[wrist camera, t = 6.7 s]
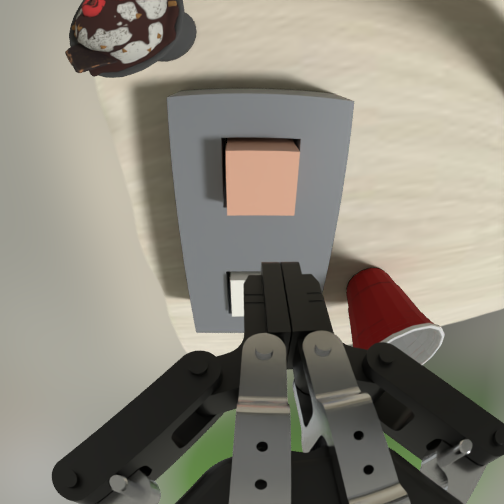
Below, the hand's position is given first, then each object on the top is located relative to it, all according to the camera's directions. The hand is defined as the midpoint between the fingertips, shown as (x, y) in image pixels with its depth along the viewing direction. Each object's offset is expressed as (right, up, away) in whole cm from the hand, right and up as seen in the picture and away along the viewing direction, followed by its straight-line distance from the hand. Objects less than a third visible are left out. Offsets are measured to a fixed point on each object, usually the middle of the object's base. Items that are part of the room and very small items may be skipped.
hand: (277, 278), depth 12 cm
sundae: (-8, +19, +6) cm, 22 cm away
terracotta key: (-1, +8, +11) cm, 13 cm away
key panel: (-1, +5, +17) cm, 17 cm away
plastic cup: (+14, -3, +23) cm, 27 cm away
